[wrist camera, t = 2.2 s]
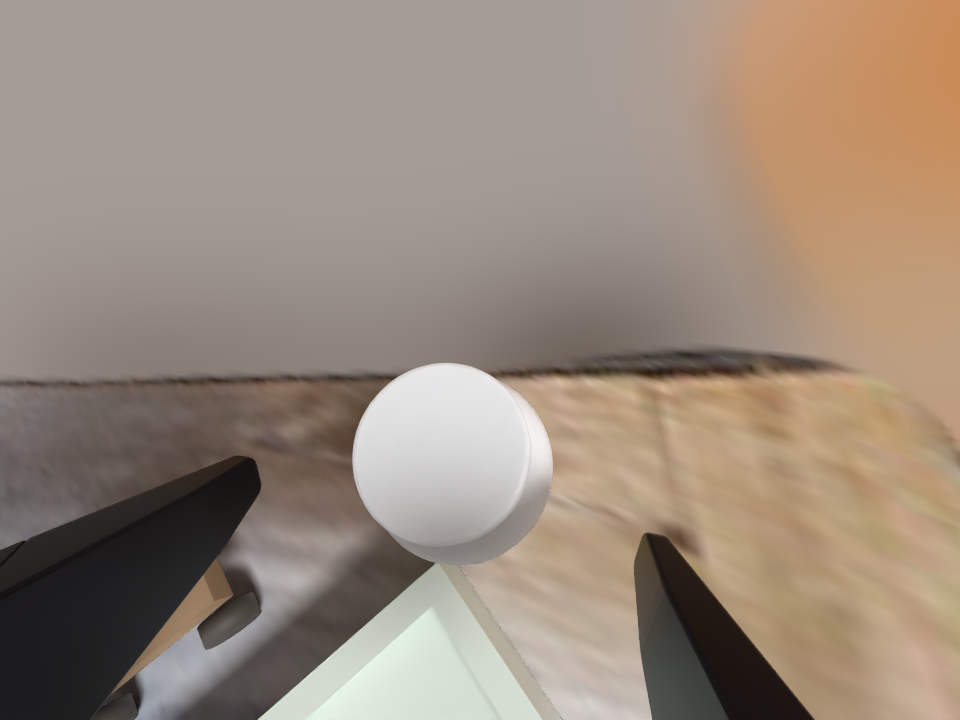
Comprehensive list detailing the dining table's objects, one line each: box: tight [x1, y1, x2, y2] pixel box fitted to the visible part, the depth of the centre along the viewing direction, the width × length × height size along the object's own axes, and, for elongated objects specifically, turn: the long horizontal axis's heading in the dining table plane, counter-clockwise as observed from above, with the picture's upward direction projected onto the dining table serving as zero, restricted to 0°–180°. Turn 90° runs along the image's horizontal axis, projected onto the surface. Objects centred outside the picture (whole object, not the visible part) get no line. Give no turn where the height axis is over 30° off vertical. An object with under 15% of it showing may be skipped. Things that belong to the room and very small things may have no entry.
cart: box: [91, 558, 262, 720], centre depth 15 cm, size 8×7×4 cm
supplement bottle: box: [352, 363, 553, 566], centre depth 13 cm, size 5×5×10 cm
